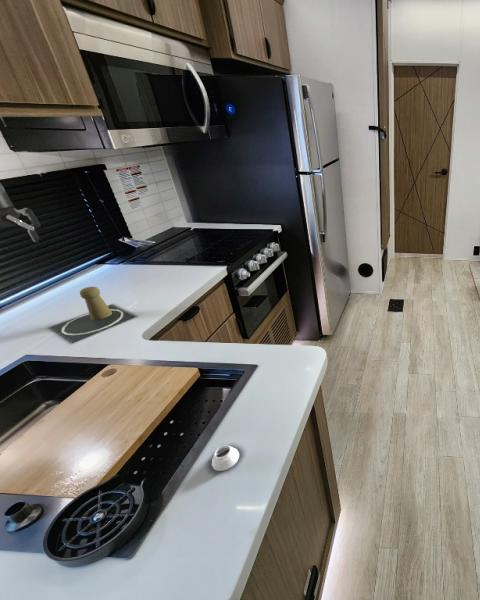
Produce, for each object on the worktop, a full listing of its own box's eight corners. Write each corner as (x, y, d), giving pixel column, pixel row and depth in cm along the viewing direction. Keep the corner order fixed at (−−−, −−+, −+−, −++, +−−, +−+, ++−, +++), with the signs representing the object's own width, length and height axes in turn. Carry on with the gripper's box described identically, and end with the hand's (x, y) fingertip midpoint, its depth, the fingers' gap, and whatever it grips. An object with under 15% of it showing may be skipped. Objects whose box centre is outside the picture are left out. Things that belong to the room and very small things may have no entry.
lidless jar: (217, 477, 65) (243, 460, 68) (213, 467, 64) (239, 451, 67) (209, 460, 68) (234, 446, 71) (205, 451, 67) (230, 436, 70)
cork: (114, 314, 120) (101, 287, 115) (94, 321, 116) (79, 293, 110) (108, 309, 123) (95, 283, 118) (88, 316, 119) (73, 289, 113)
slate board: (73, 343, 105) (72, 341, 105) (51, 328, 113) (49, 326, 113) (135, 317, 119) (135, 316, 118) (112, 306, 127) (111, 304, 126)
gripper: (15, 187, 103) (43, 237, 111) (-55, 195, 92) (-19, 250, 100) (24, 189, 100) (51, 241, 108) (-48, 198, 89) (-12, 254, 97)
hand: (17, 245), depth 104 cm, fingers open, 8 cm apart
